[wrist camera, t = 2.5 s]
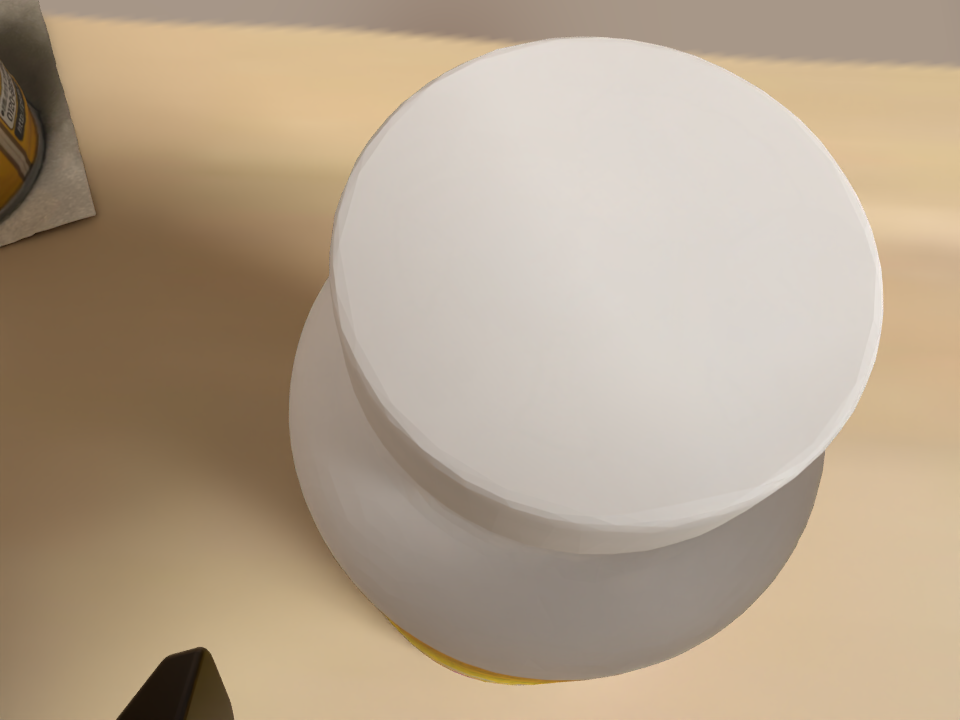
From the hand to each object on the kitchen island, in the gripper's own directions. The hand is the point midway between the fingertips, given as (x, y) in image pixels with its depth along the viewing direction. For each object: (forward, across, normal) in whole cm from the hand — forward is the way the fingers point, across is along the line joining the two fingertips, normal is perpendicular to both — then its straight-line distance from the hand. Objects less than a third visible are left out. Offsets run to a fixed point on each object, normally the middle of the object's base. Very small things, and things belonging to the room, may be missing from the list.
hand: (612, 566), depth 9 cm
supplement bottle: (+8, 0, +5) cm, 10 cm away
